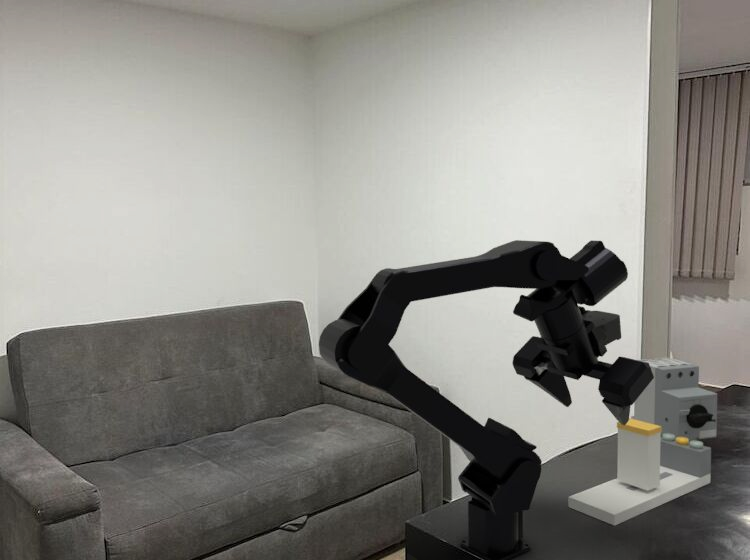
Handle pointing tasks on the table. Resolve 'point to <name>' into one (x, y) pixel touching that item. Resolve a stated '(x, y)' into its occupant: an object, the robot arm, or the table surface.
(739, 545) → the table surface
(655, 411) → the circuit breaker
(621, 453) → the handle
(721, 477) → the table surface
